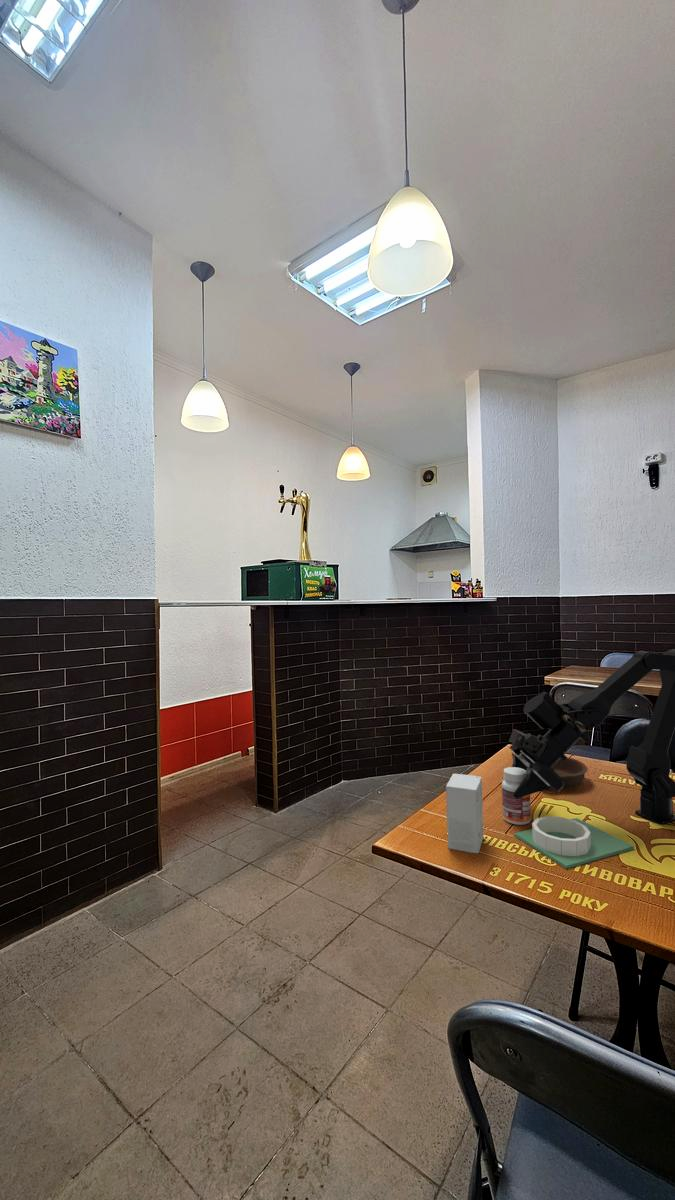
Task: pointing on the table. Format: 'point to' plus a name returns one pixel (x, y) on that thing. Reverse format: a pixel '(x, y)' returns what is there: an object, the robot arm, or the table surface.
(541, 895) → the table surface
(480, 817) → the small box
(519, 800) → the pill bottle
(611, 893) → the table surface
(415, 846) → the table surface
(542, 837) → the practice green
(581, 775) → the dish
